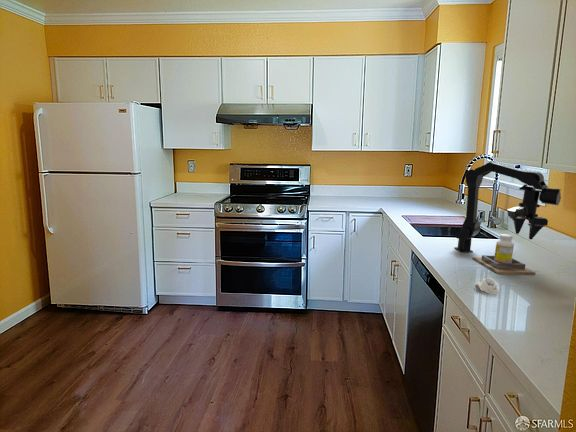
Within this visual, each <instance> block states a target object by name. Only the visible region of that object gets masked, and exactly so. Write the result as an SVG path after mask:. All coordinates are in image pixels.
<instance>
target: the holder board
mask: <svg viewBox="0 0 576 432" xmlns="http://www.w3.org/2000/svg"><path fill="white" fill-rule="evenodd" d="M494 257H495V255H483V254H482V255H481V256H472V260H473V261H474V262H477V263H479V264H480V265H481V266H483V265H484V267H485V268H487V269H488V270H490V271H492V272H494V273H495V274H497V275H527V276H528V275H531V276H532V275H533V276H534V275H536V274H537V273H536V271H533V270H532V269H530V268H528V267H526V263H524V262H521V261H520V260H517V259H515V258H513V257H512V262H511V264H507V263H497V262H495V261H494Z"/></svg>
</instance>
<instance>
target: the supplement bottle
mask: <svg viewBox="0 0 576 432" xmlns="http://www.w3.org/2000/svg"><path fill="white" fill-rule="evenodd" d="M513 237H514V235H512V234H507V233H500V234H499V239H498V240H496V243H495V251H494V256H495V257H494V261H495V262H497V263H507V264H511V262H512V258H513V256H514V255H513V254H514V248H515V243H514V242H513V241H512V240H513Z"/></svg>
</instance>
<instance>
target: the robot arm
mask: <svg viewBox="0 0 576 432" xmlns="http://www.w3.org/2000/svg"><path fill="white" fill-rule="evenodd" d="M492 172H493V173H496V174H499V175H502V176H506V177H510V178H513V179H516V180H518V181H519V182H521V183H523V185H522V186H521V187H519V188H518V189H519V190H520V191H523V197H522V202H521V201H520V202H519V203H518V206H513V207H511V208H506V211H507V217H509V219H511V221H512V223H513V224H514V229H515V230H514V231H515V234H517V235H519V234H520V232H521V230H522V228H523V226H524V223H525V221H526V220H527V222H528V223H527V225H528V227H529V232H528V239H529V240H533V239H534V237H535V236H537V234H538V233H539V232H540V231H541V230H542V229H543V228H544V227H546V226H548V223H549V220H548V218H545V217H543V216H539V214H538V213H537V209H538V208H540V206H541V205H540V204H539V202H541V204H545V205H551V206H559V205H560V202H561V199H562V196H561V190H562V189H561V188H553V187H552V188H551V187H548V185H547V184H546V182H545V176H544V175H543V173H541V172H539V171H530V170H522V169H517V168H515V167H510V166H506V165H502V164H499V163H496V161H495V162H494V161H493V162H492V161H490V162H487V163H486V164H484V165H481V166H478V167H477V168H474V169H473V168H472V169H469V170H467V171H466V172H465V173H464V174H465V175H464V177H465V183H466V186H467V198H466V199H467V200H466V201H467V202H466V212H465V213H466V215H465V219H464V221H463V223H462V227H461V230H460V231H458V232H457V233H456V234H455V236H456V239H457V240H458V241H457V247H456V246H455V247H454V249H455V250H456V251H458V252H461V253H474V250H472V249H471V247H472V239H474V238H475V236H477V235H478V234H479V232H480V231H481V225H482V221H478V218H477V217H478V216H477V215H478V206H479V205H478V202H479V190H480V186H481V185H482V183H483V180H484V177H485V176H487V175H489V174H490V173H492Z"/></svg>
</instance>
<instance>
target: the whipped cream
mask: <svg viewBox="0 0 576 432" xmlns="http://www.w3.org/2000/svg"><path fill="white" fill-rule="evenodd" d="M474 287H475V288H476V289H478V288H479V289H480V291H481V292H485V293H487V294H489V295H497V294H498V293H499V291H500V290H499V287H498V285H497V282H496V281H495V280H494V279H492V278H488V277H484V278H482V279H481V281H478V282H477V283H476V284H475V285H474ZM496 293H497V294H496Z"/></svg>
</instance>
